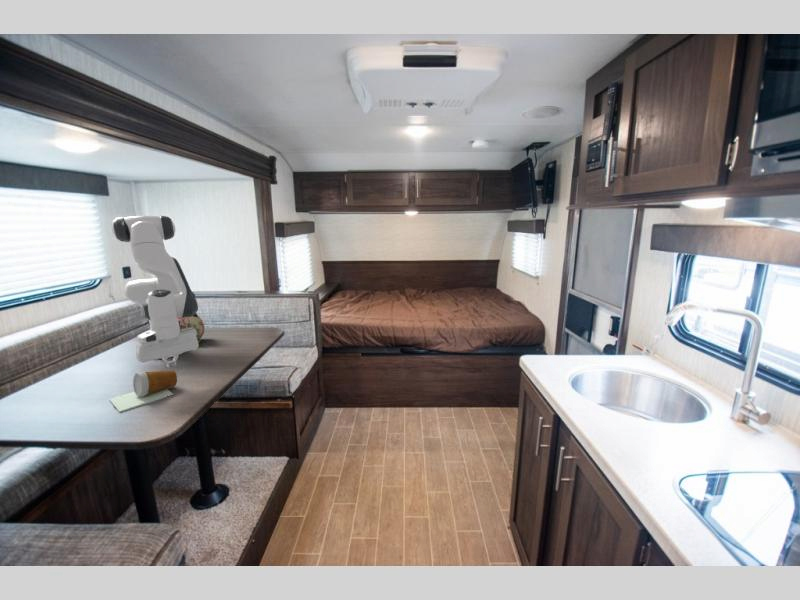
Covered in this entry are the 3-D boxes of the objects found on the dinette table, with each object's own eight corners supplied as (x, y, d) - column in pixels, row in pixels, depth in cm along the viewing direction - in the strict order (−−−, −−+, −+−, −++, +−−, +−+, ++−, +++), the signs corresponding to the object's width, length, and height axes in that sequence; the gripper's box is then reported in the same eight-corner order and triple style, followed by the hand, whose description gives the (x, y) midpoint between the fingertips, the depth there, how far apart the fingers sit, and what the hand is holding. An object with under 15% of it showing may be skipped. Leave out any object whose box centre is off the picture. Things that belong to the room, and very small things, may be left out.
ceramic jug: (166, 347, 180) (159, 292, 175) (186, 338, 195) (179, 288, 190) (197, 347, 179) (190, 292, 174) (214, 338, 194) (208, 288, 189)
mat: (109, 400, 123) (109, 399, 123) (160, 385, 136) (159, 383, 136) (119, 412, 115) (119, 411, 115) (172, 395, 127) (172, 393, 127)
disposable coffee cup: (167, 380, 137) (131, 387, 127) (171, 361, 135) (135, 366, 125) (176, 395, 133) (139, 403, 123) (181, 375, 130) (144, 382, 120)
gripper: (192, 324, 139) (197, 356, 142) (131, 337, 123) (138, 372, 126) (198, 327, 135) (203, 359, 138) (136, 340, 119) (143, 376, 122)
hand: (171, 365), depth 132 cm, fingers closed
